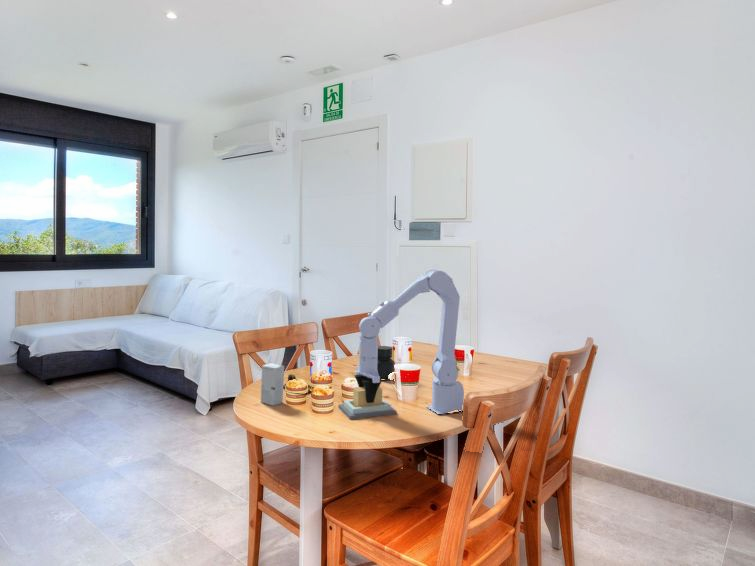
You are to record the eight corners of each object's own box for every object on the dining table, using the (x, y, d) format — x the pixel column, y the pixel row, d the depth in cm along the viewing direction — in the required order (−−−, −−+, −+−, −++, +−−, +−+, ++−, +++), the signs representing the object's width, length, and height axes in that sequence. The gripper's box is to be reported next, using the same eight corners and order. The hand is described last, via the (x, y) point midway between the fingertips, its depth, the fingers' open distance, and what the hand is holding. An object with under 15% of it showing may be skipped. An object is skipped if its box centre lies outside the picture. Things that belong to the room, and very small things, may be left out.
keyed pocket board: (382, 403, 155) (382, 395, 155) (396, 413, 145) (396, 405, 145) (338, 407, 149) (338, 399, 149) (349, 419, 139) (350, 411, 139)
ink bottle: (399, 377, 187) (400, 347, 186) (386, 382, 180) (387, 351, 179) (379, 373, 193) (380, 344, 192) (366, 377, 186) (366, 347, 185)
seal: (319, 395, 166) (298, 385, 178) (321, 382, 166) (300, 372, 177) (295, 397, 160) (275, 386, 172) (297, 383, 160) (277, 373, 172)
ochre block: (353, 406, 148) (353, 387, 147) (376, 404, 151) (377, 385, 150) (357, 410, 144) (358, 391, 143) (381, 408, 147) (382, 389, 147)
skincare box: (260, 402, 152) (260, 365, 152) (269, 399, 156) (270, 362, 156) (274, 406, 149) (275, 368, 149) (284, 402, 153) (284, 365, 153)
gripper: (348, 352, 151) (347, 394, 152) (364, 362, 138) (363, 408, 139) (368, 351, 154) (367, 392, 155) (386, 361, 141) (385, 406, 142)
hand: (367, 399), depth 147 cm, fingers open, 4 cm apart
